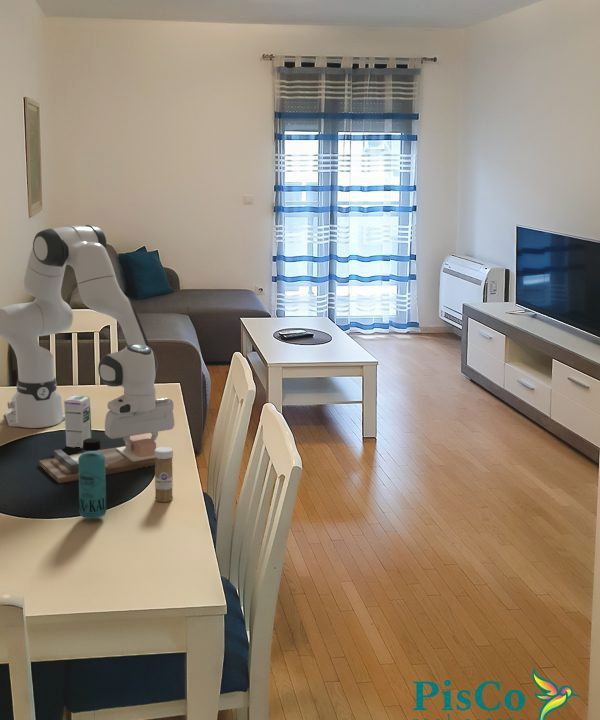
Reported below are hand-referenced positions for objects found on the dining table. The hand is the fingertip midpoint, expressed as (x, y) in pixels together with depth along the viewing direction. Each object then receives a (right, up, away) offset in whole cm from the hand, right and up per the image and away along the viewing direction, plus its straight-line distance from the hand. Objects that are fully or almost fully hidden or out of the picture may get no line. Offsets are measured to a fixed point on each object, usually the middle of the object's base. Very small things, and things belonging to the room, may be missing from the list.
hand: (140, 448), depth 259 cm
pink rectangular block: (-1, -1, 0) cm, 2 cm away
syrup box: (-20, 0, +11) cm, 23 cm away
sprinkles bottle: (+11, -10, -29) cm, 33 cm away
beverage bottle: (-4, -13, -43) cm, 45 cm away
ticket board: (-11, -4, -7) cm, 13 cm away
